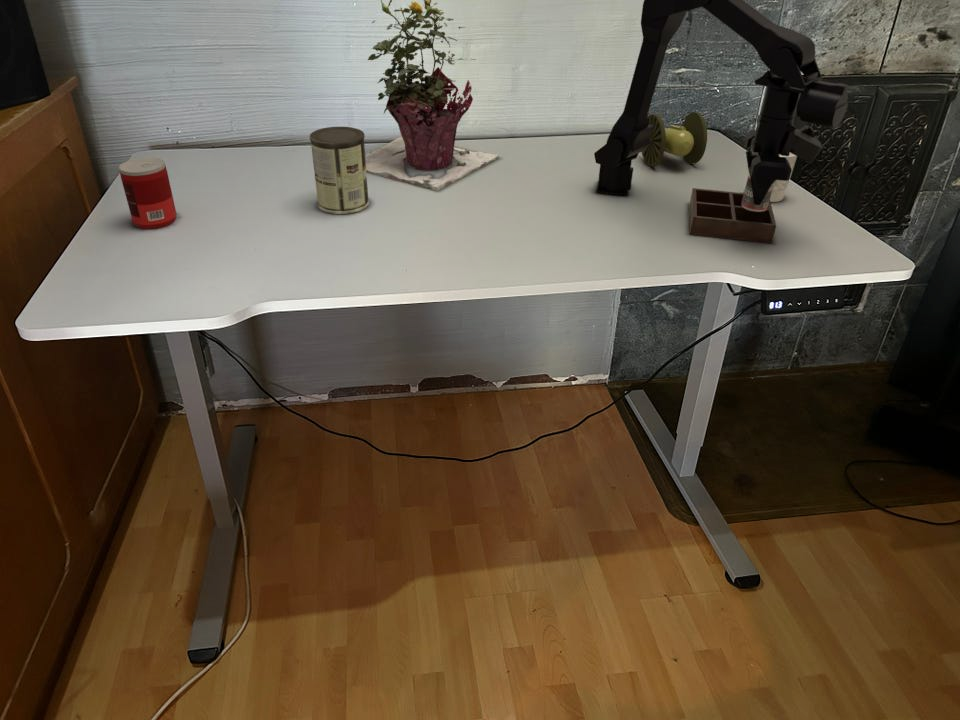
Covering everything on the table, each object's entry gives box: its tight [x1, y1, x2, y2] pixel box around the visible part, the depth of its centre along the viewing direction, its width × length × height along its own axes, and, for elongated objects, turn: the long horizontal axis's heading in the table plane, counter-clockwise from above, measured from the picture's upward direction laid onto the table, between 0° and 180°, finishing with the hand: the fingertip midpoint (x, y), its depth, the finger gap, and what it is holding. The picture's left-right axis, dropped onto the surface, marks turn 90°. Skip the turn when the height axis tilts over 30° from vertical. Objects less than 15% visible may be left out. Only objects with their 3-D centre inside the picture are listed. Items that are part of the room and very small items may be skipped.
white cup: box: [770, 152, 798, 203], centre depth 155 cm, size 8×8×10 cm
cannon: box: [641, 111, 708, 167], centre depth 174 cm, size 25×12×11 cm, turn 13°
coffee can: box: [309, 126, 370, 215], centre depth 145 cm, size 10×10×14 cm
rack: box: [688, 187, 777, 245], centre depth 145 cm, size 15×15×4 cm
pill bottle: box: [742, 172, 775, 212], centre depth 137 cm, size 5×5×8 cm
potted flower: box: [365, 0, 500, 192], centre depth 161 cm, size 27×25×35 cm
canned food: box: [118, 156, 177, 230], centre depth 138 cm, size 8×8×11 cm
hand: (756, 199), depth 139 cm, fingers closed on pill bottle, 5 cm apart
